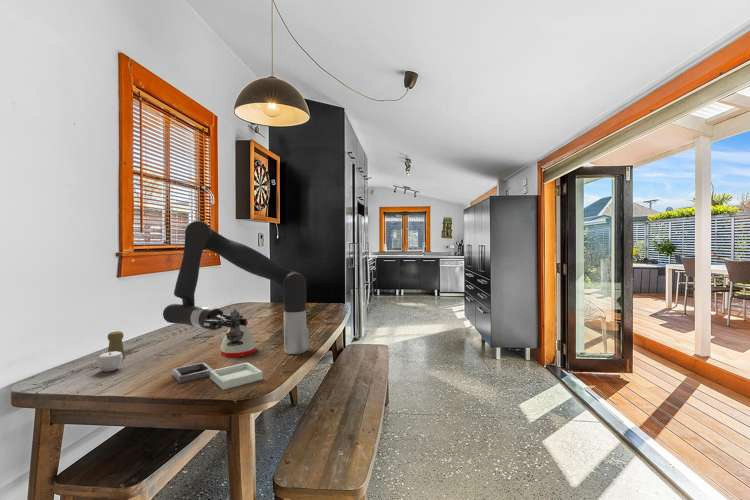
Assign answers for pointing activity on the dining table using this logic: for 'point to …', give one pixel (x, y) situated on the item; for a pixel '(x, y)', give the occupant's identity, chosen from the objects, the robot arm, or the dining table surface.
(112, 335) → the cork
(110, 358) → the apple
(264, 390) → the dining table surface
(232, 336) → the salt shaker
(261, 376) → the tray
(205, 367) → the holder
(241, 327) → the kitchen timer
